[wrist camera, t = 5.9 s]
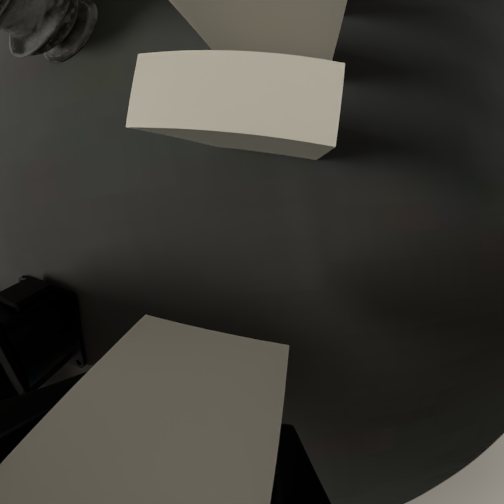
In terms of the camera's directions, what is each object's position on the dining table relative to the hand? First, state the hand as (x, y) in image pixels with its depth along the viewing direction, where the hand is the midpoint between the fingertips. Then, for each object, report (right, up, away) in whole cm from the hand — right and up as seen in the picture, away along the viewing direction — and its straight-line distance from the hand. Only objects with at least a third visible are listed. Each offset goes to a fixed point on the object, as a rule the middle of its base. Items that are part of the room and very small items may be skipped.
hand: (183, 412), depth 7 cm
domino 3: (0, +1, +3) cm, 3 cm away
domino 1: (+3, +14, +6) cm, 16 cm away
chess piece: (-11, +20, +7) cm, 24 cm away
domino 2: (+3, +10, +7) cm, 13 cm away
